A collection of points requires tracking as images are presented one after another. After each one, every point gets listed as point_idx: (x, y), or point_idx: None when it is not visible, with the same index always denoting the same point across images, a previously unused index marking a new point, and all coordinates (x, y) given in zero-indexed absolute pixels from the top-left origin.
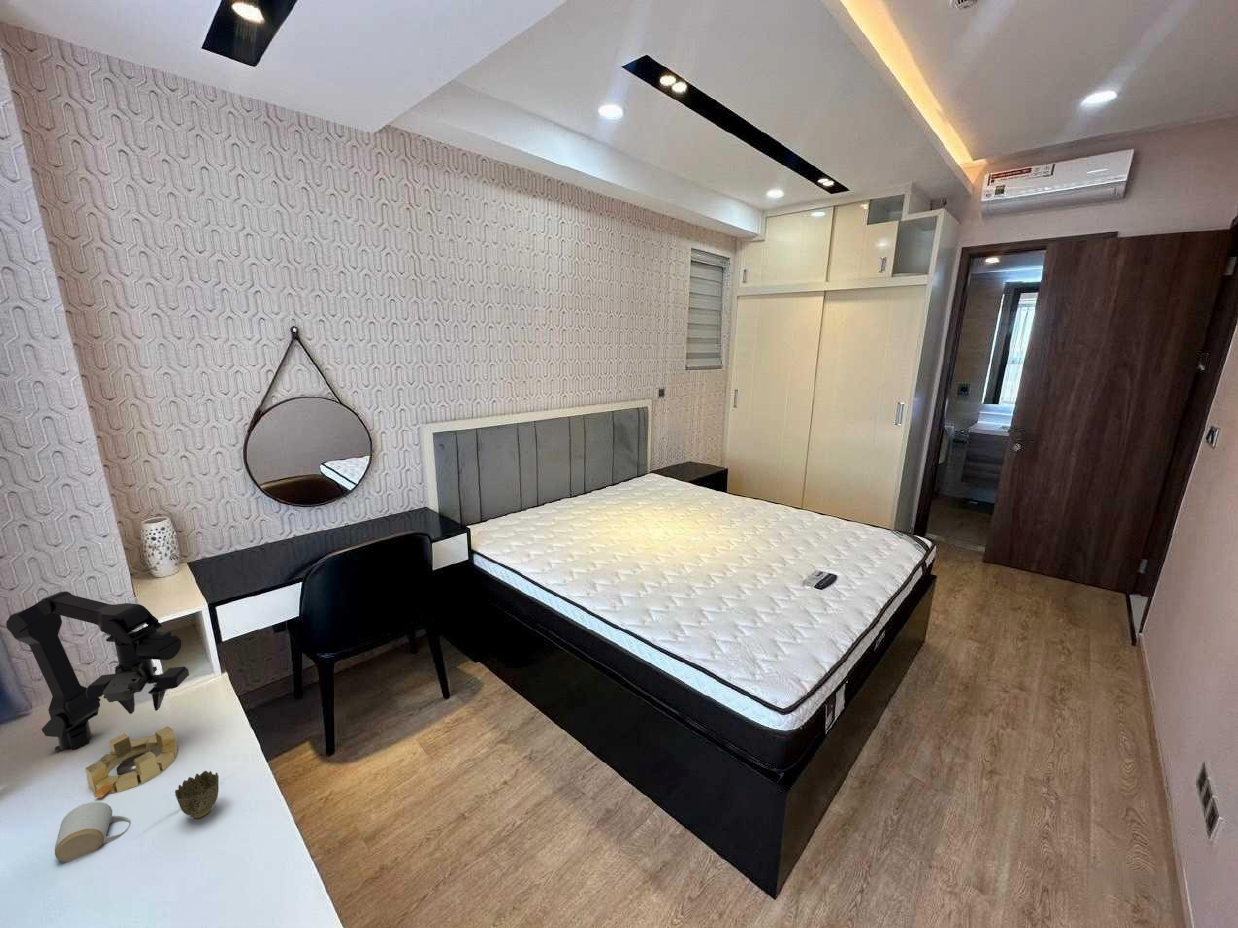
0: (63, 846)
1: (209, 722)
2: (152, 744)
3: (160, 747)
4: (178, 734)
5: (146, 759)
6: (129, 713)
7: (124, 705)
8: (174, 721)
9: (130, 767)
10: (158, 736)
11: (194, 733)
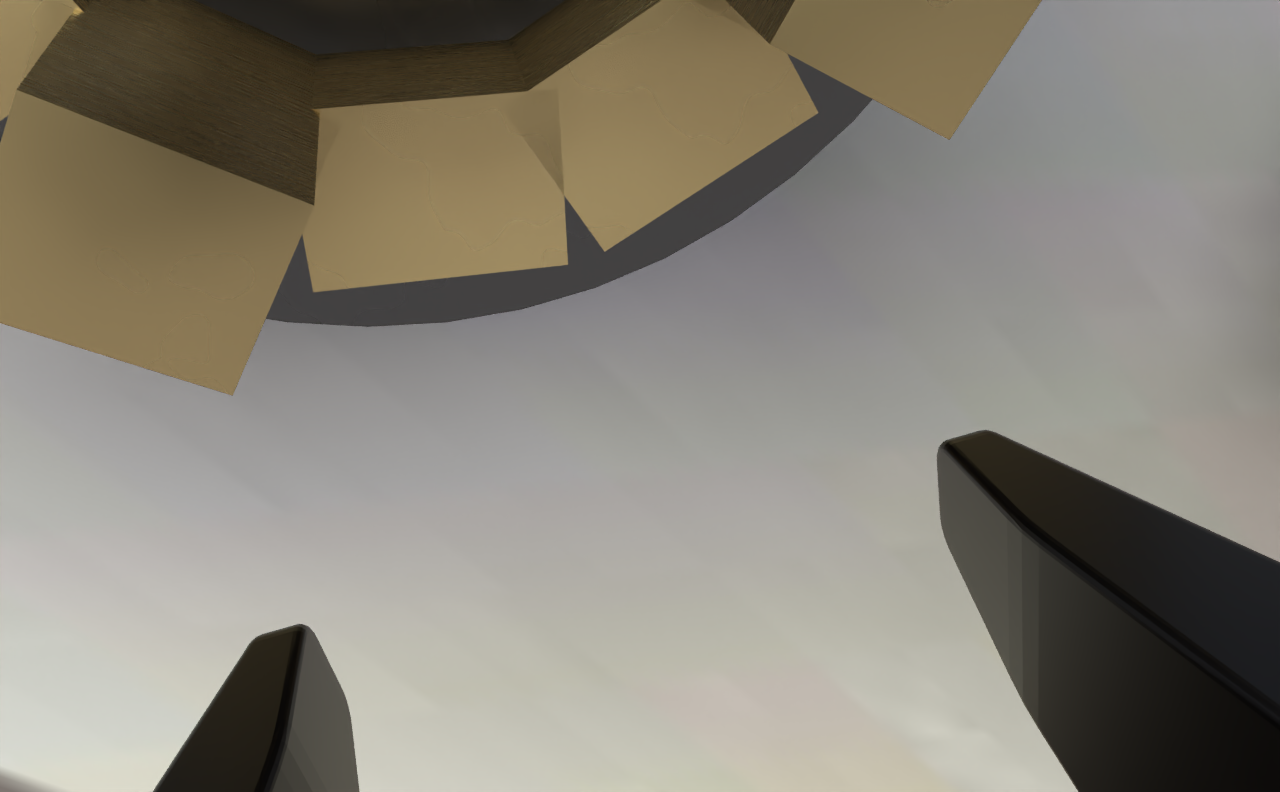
0: None
1: (212, 630)
2: (407, 90)
3: (215, 46)
4: (433, 419)
5: None
6: (997, 437)
7: (1274, 622)
8: (687, 587)
9: None
10: (179, 129)
11: (218, 455)
